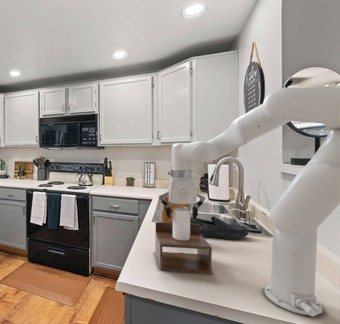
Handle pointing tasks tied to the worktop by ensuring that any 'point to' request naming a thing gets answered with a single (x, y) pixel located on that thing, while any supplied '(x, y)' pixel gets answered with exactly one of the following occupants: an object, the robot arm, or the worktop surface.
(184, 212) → the can
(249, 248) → the worktop surface
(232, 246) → the worktop surface
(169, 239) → the shelf
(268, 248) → the worktop surface
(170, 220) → the coffee package
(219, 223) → the loafer
